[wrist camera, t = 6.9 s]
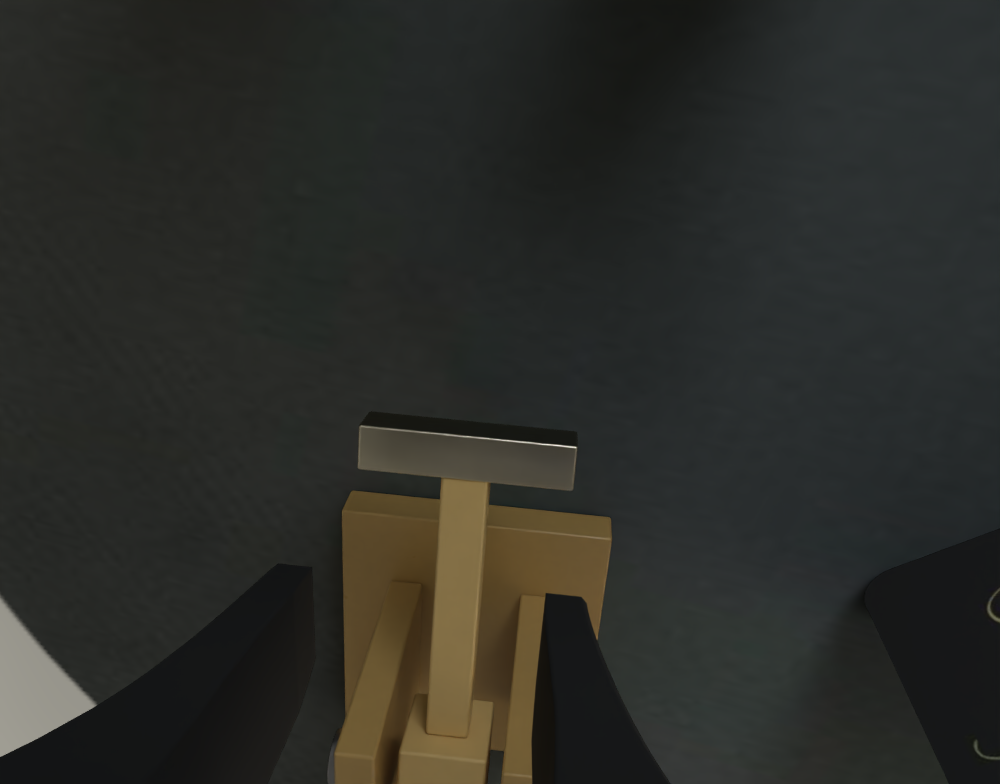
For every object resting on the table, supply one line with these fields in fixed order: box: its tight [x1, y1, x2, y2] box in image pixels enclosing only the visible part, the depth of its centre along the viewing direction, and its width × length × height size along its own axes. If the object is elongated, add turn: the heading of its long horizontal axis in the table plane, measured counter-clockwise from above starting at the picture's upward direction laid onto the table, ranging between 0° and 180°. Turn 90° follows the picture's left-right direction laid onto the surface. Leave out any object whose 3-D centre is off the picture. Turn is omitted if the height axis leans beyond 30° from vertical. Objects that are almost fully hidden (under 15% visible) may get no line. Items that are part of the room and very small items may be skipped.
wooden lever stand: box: [327, 491, 612, 784], centre depth 24 cm, size 9×8×8 cm
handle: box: [358, 411, 578, 784], centre depth 21 cm, size 11×5×2 cm, turn 175°
